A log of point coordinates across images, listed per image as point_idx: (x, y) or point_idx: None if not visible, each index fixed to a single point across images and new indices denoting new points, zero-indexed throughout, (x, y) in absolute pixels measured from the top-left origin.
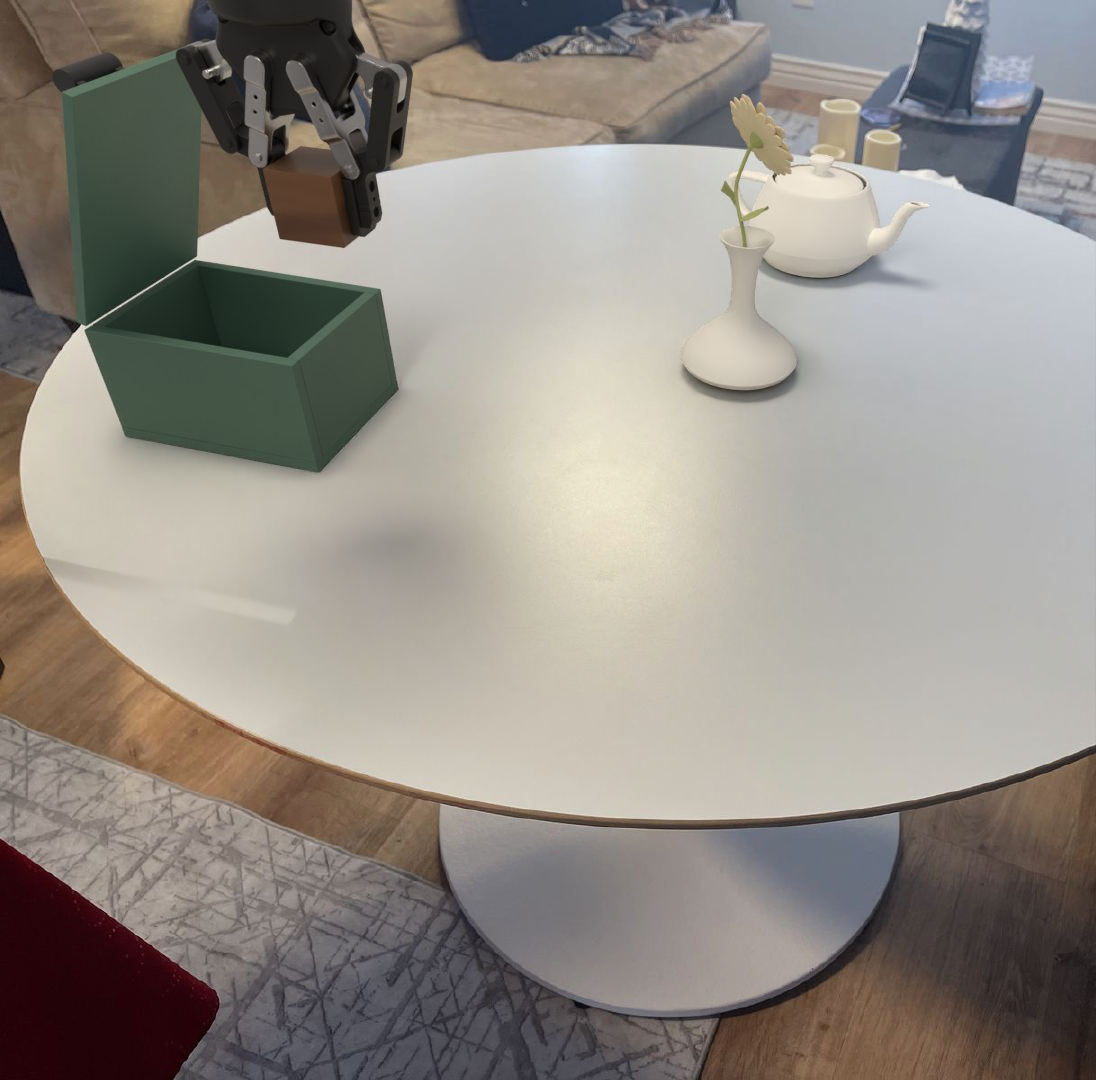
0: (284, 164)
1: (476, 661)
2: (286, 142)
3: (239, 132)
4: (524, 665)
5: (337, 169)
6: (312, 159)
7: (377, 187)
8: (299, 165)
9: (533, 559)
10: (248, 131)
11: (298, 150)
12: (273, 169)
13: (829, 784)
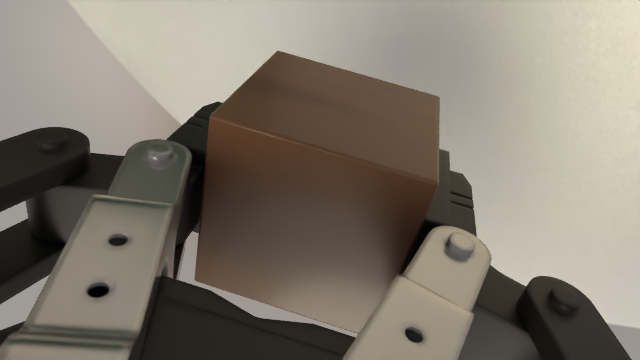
0: (231, 259)
1: (501, 200)
2: (186, 186)
3: (65, 234)
4: (542, 207)
5: (378, 296)
6: (288, 226)
7: (474, 227)
8: (271, 266)
9: (566, 76)
10: (77, 215)
11: (222, 161)
12: (220, 286)
13: None
